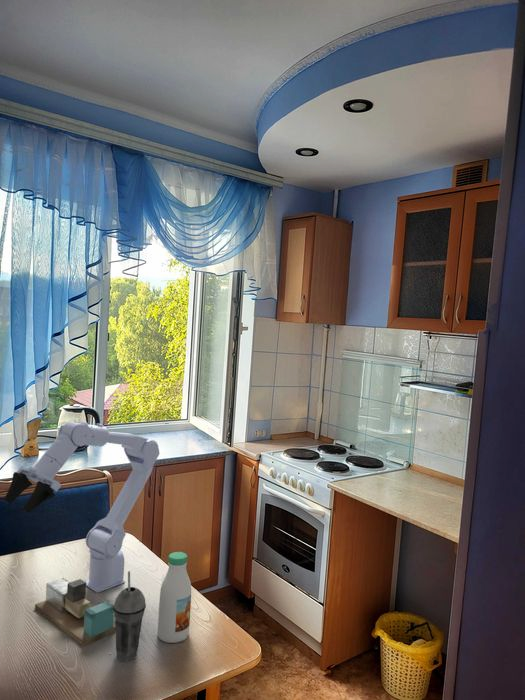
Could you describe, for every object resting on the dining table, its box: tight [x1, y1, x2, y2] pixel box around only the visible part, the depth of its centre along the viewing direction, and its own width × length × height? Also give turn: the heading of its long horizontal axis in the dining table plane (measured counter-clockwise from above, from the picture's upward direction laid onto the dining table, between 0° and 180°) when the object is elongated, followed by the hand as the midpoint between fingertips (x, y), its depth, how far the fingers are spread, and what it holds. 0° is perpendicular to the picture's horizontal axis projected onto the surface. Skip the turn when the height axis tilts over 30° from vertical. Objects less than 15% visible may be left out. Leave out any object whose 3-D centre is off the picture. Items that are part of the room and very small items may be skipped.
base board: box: [34, 599, 116, 647], centre depth 133 cm, size 10×23×1 cm, turn 50°
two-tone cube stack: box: [64, 578, 91, 618], centre depth 135 cm, size 4×14×7 cm, turn 50°
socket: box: [84, 600, 115, 638], centre depth 126 cm, size 6×3×6 cm, turn 140°
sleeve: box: [45, 577, 70, 613], centre depth 137 cm, size 5×8×5 cm, turn 50°
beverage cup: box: [113, 570, 147, 663], centre depth 119 cm, size 7×7×20 cm
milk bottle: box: [157, 551, 192, 644], centre depth 128 cm, size 8×8×20 cm
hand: (16, 506), depth 128 cm, fingers open, 7 cm apart
